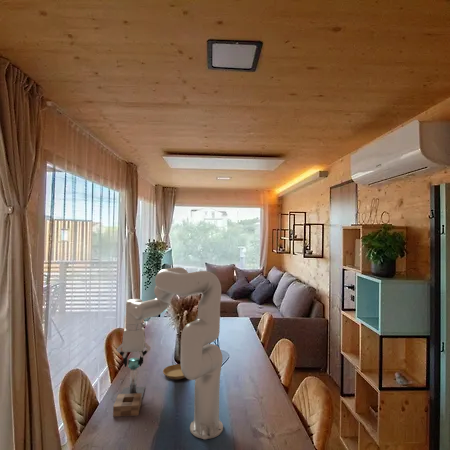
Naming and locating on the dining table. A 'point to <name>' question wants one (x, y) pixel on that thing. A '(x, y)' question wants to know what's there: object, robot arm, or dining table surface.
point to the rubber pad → (138, 390)
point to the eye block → (127, 404)
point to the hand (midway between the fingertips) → (133, 365)
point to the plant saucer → (174, 372)
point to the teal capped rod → (133, 373)
